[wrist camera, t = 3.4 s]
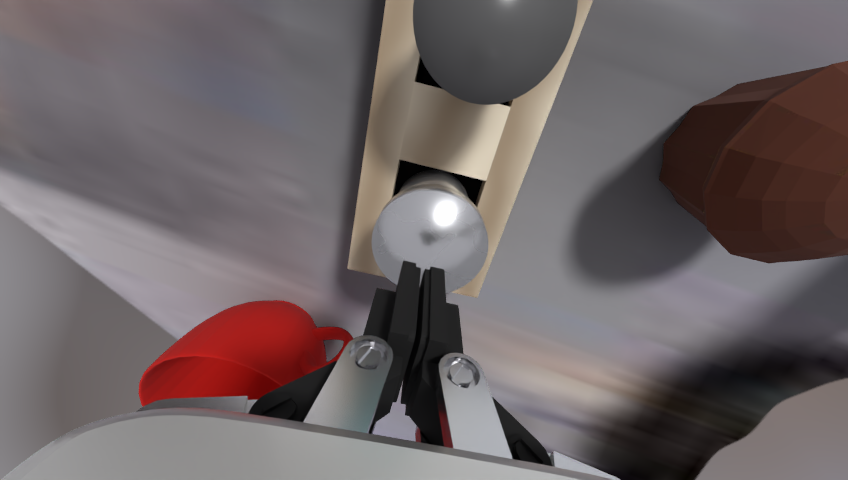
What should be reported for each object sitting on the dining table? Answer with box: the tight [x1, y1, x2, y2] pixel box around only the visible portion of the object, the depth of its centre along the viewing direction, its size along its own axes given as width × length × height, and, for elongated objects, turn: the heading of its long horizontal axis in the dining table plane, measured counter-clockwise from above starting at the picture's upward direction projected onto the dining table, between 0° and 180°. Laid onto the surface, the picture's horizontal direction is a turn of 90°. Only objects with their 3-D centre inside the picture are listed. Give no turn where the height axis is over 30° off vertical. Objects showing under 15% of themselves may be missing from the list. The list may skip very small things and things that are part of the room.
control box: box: [347, 0, 593, 298], centre depth 18 cm, size 10×32×5 cm, turn 167°
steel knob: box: [372, 170, 488, 293], centre depth 19 cm, size 6×6×6 cm
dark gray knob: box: [413, 0, 578, 105], centre depth 14 cm, size 6×6×6 cm
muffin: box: [659, 61, 848, 263], centre depth 18 cm, size 12×11×10 cm
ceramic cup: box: [139, 300, 353, 406], centre depth 28 cm, size 13×17×10 cm
